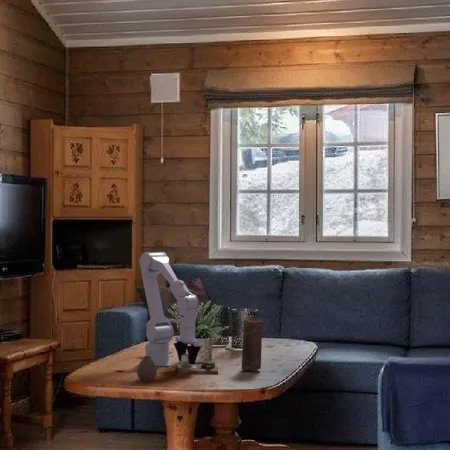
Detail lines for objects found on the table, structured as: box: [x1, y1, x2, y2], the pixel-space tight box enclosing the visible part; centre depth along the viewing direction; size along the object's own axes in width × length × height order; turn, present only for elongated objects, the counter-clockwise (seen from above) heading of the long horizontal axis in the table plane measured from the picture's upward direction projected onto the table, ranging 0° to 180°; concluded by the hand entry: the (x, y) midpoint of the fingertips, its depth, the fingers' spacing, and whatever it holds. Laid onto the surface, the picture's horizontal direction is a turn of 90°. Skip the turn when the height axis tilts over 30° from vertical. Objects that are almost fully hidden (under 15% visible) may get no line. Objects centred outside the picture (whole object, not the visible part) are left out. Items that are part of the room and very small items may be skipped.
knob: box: [180, 352, 193, 368], centre depth 342 cm, size 5×5×5 cm
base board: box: [177, 360, 219, 375], centre depth 342 cm, size 15×14×3 cm
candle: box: [241, 317, 264, 372], centre depth 343 cm, size 8×7×20 cm
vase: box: [136, 355, 158, 383], centre depth 320 cm, size 7×7×9 cm
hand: (186, 362), depth 342 cm, fingers open, 7 cm apart
